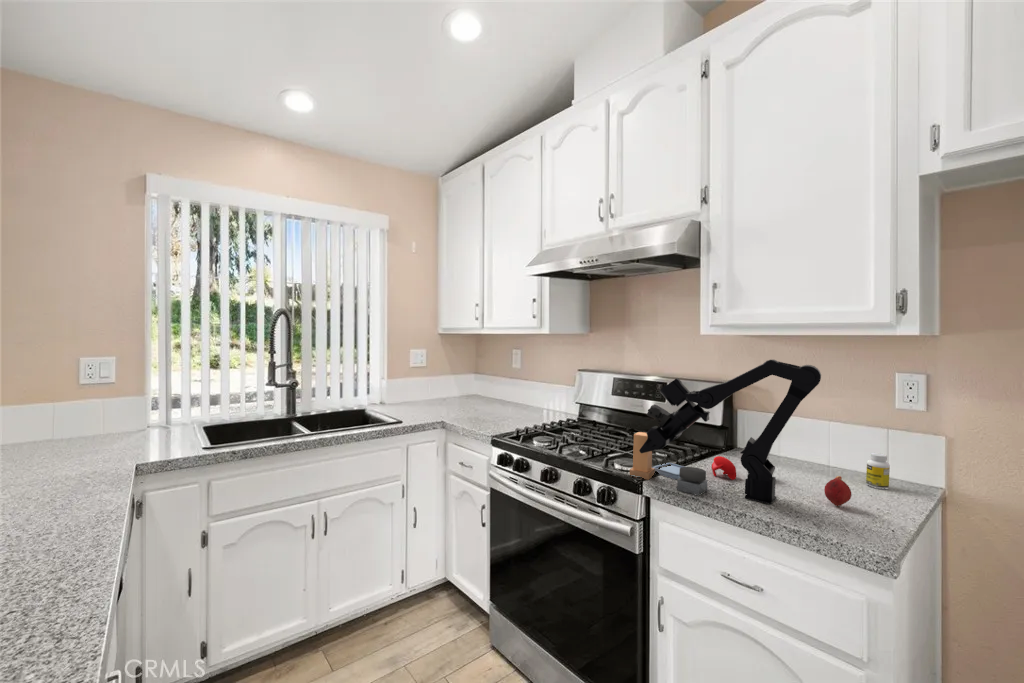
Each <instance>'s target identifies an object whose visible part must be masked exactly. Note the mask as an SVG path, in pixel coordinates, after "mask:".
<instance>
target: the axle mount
mask: <svg viewBox="0 0 1024 683" xmlns="http://www.w3.org/2000/svg"><path fill="white" fill-rule="evenodd" d="M708 481H709V480H708V479H706V480H705V481H696V482H693V481H689V480H685V479H682V478H679V479H677V480H676V490H677V491H680V492H684V493H686V494H687V493H688V494H692V495H695V494H696V495H695V496H698V495H699V496H700V495H702V494H703V492H704V491H705V492H707V491H708ZM706 490H707V491H706ZM705 492H704V493H705ZM701 493H702V494H701Z"/></svg>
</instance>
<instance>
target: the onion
mask: <svg viewBox="0 0 1024 683" xmlns="http://www.w3.org/2000/svg"><path fill="white" fill-rule="evenodd" d="M842 478H843V477H842V476H841V475H837V476H836V477H834V478H833V479H831V480H829V481H828V482H827V483H825V485H824V489H823V490H824V495H825V497H826V499H827V500H828V501H829V502H830V503H832V504H833V505H834V506H835V507H841V506H842V505H844V504H846V503H848V502H849V501H850V500H851V498H852V491H851V488H850V487H849V485H848V484H847V483H846V482H845V481H844V480H842Z"/></svg>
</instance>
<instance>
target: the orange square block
mask: <svg viewBox="0 0 1024 683" xmlns="http://www.w3.org/2000/svg"><path fill="white" fill-rule="evenodd" d="M647 439H648V436H647V432H644V431H643V432H642V431H638V432H636V433H634V434H633V444H632V445H633V450H632V456H633V457H632V467H630V469H629V471H628V472H629V474H630V475H635V476H640V477H642V478H644V479H643V480H646V481H647V480H648V481H649V480H650V479H651V478H653V477H654V476H655V475H654V473H655V469H654V468H652V467H653V451H649V452H645V453H640V451H639V450H640V449H641V447H642V446H643V445H644V443H645V442H646V440H647ZM655 474H656V473H655ZM653 475H654V476H653ZM652 476H653V477H652ZM642 478H641V479H642Z"/></svg>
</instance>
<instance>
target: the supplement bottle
mask: <svg viewBox="0 0 1024 683" xmlns="http://www.w3.org/2000/svg"><path fill="white" fill-rule="evenodd" d="M869 458H870V459H868V460H867V462H866V476H865V477H866V478H865V484H867V485H870V486H873V487H876V488H888V489H889V487H890V472H891V471H890V469H891V468H890V466H891V465H890V463H888V462H887V461H888V455H887V454H885V453H881V452H870V454H869ZM867 485H866V486H867ZM876 488H875V489H876Z"/></svg>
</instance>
